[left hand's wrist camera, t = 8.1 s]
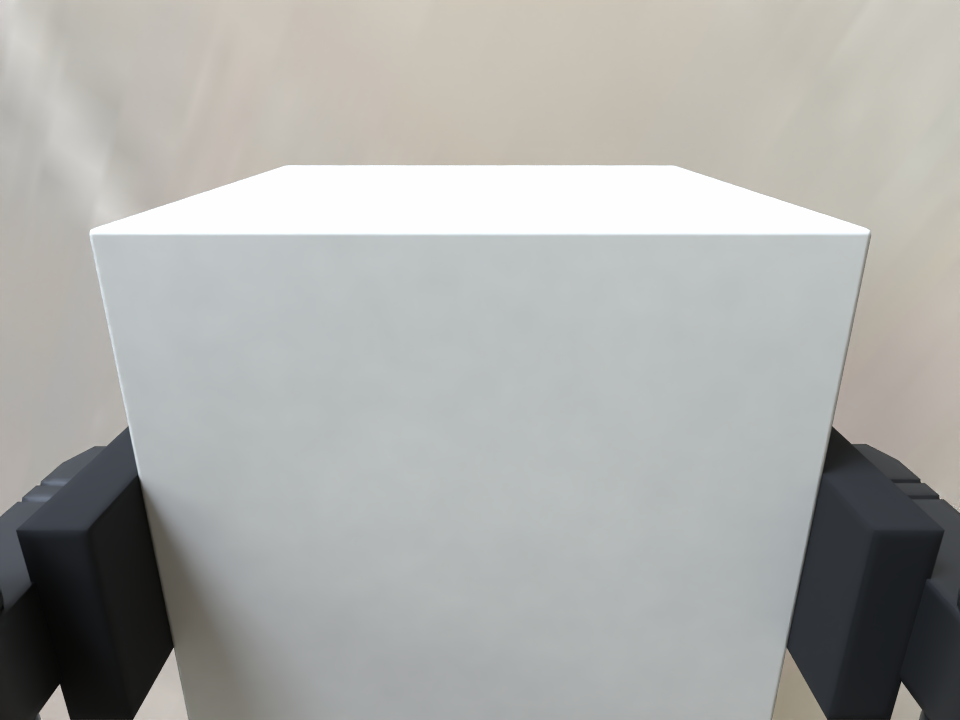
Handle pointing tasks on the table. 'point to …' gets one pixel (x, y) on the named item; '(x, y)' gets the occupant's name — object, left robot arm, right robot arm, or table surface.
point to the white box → (480, 436)
